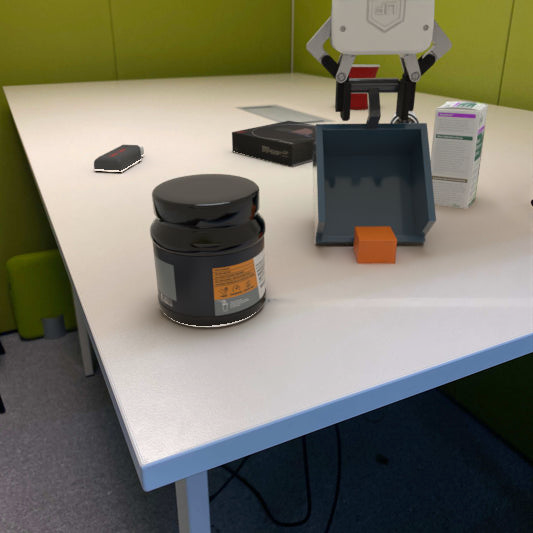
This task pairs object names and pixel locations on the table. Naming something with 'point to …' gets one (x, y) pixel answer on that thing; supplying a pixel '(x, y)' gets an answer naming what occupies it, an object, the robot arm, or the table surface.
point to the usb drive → (119, 158)
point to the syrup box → (457, 152)
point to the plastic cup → (361, 71)
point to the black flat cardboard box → (277, 142)
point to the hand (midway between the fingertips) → (373, 116)
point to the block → (374, 244)
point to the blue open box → (372, 174)
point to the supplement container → (208, 248)
